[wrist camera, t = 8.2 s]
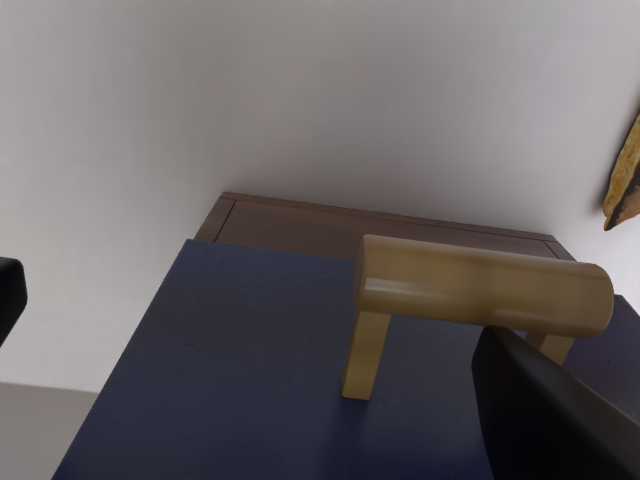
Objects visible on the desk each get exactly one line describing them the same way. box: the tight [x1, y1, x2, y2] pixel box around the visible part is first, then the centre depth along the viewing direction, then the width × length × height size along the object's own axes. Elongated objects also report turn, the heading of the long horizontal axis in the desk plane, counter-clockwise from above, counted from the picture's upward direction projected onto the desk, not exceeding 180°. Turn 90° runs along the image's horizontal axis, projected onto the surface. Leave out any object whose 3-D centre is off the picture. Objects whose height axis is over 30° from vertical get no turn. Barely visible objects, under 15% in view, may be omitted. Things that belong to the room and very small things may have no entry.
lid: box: [51, 234, 640, 480], centre depth 12 cm, size 9×16×5 cm
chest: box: [193, 192, 577, 262], centre depth 22 cm, size 9×16×5 cm, turn 83°
